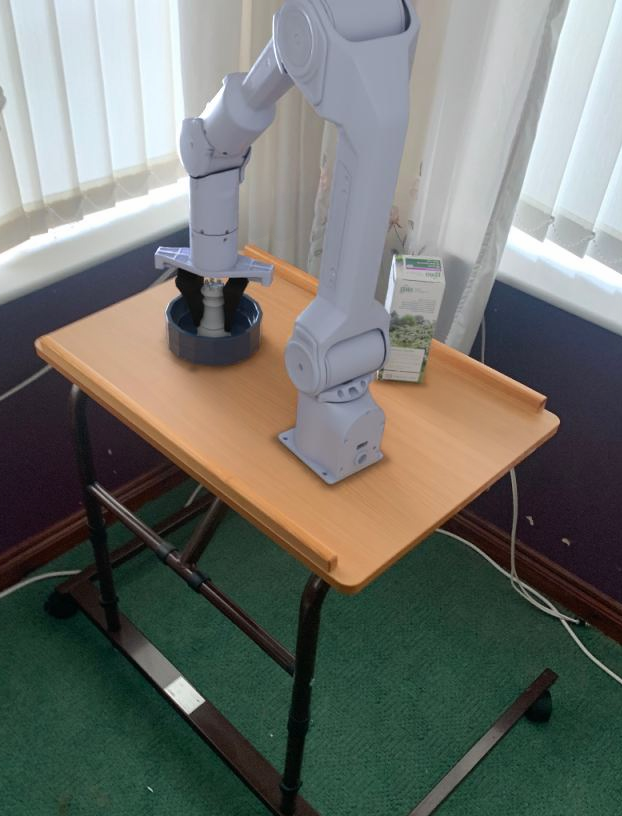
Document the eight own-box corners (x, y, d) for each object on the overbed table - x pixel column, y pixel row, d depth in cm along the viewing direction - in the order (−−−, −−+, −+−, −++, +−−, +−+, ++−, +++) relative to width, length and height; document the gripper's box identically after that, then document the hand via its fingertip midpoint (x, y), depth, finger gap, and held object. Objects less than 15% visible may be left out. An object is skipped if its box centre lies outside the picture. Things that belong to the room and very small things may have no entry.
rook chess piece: (214, 324, 106) (214, 270, 100) (238, 338, 103) (239, 283, 98) (189, 338, 103) (188, 282, 98) (213, 352, 101) (213, 296, 95)
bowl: (279, 349, 103) (281, 319, 100) (200, 381, 98) (200, 350, 95) (225, 307, 110) (226, 278, 107) (149, 334, 105) (147, 304, 101)
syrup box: (419, 358, 102) (442, 253, 92) (422, 385, 98) (447, 280, 88) (375, 354, 103) (393, 250, 92) (376, 382, 99) (395, 276, 88)
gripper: (282, 218, 94) (276, 318, 103) (166, 201, 96) (170, 300, 106) (267, 246, 89) (262, 348, 99) (146, 226, 91) (152, 328, 101)
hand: (213, 325), depth 102 cm, fingers closed on rook chess piece, 3 cm apart
